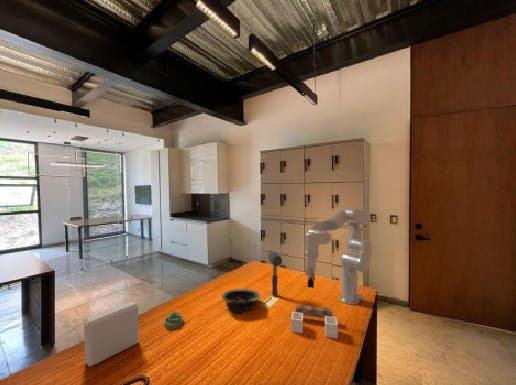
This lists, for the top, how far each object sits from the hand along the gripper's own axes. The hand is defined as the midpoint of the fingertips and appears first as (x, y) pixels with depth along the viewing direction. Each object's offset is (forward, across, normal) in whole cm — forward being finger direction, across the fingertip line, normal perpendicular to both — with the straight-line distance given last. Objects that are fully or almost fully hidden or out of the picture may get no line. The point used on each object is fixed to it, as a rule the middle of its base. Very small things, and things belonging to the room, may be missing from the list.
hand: (311, 283), depth 134 cm
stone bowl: (+22, -4, -44) cm, 49 cm away
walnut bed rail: (+21, 0, +2) cm, 21 cm away
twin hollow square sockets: (+21, +10, +2) cm, 24 cm away
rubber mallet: (+22, -23, -26) cm, 41 cm away
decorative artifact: (+22, +25, -74) cm, 81 cm away
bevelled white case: (+22, +52, -87) cm, 104 cm away
